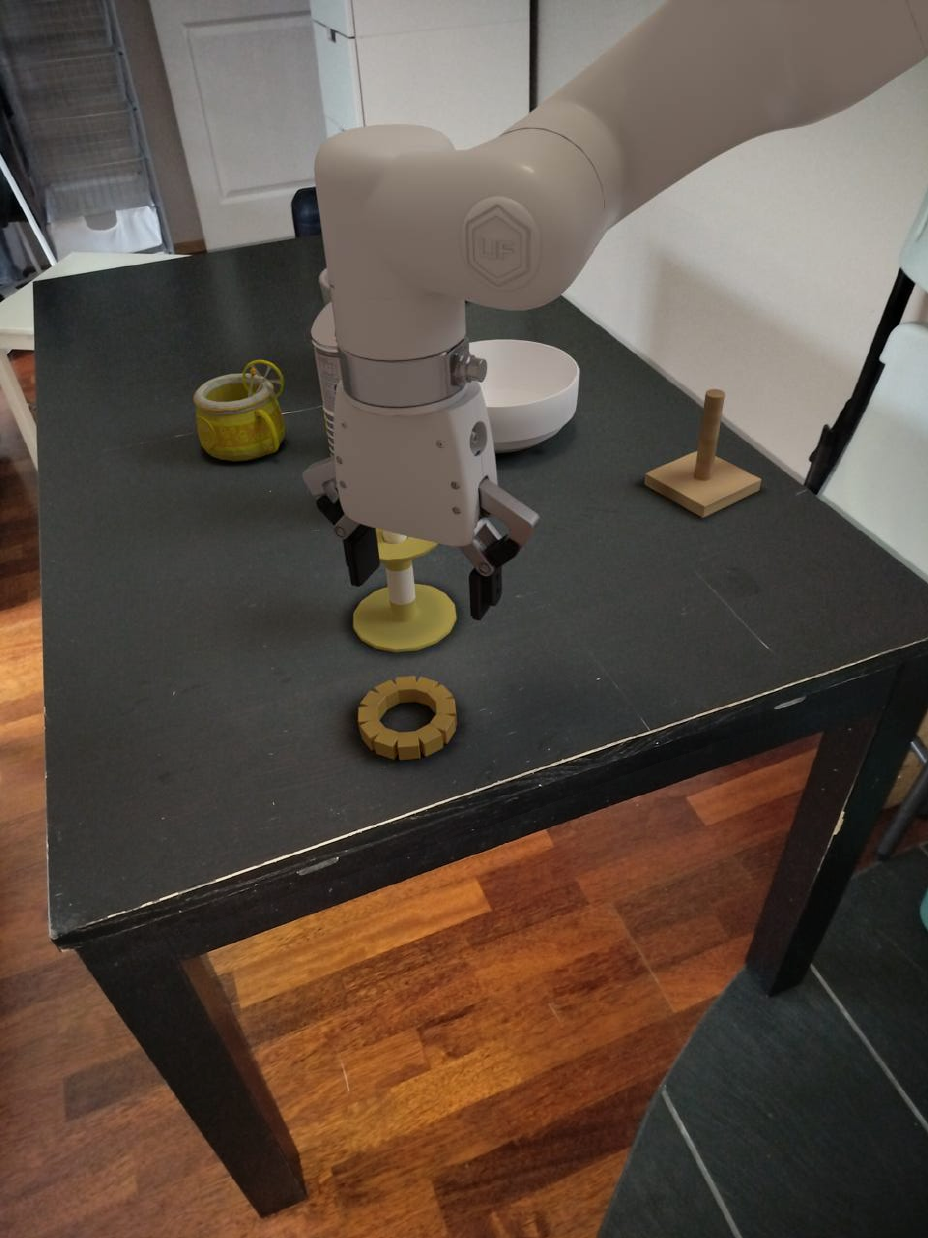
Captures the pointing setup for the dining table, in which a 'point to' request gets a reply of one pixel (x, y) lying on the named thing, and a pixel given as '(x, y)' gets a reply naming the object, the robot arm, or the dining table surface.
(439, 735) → the ring
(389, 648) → the candle
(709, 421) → the peg stand
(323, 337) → the water bottle
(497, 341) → the bowl
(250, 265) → the dining table surface
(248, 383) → the mug
